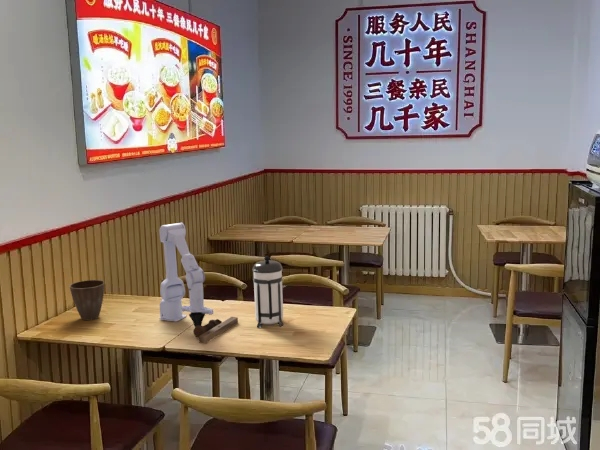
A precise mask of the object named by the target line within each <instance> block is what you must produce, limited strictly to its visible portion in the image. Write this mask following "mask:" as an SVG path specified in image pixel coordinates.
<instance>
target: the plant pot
mask: <svg viewBox="0 0 600 450" xmlns="http://www.w3.org/2000/svg"><path fill="white" fill-rule="evenodd" d="M69 290H70V293H71V297H72V300H73V302H74V305H75V308H76V311H77V312H78V315H79V316H80V319H81V320H83V321H91V320H92V321H93V320H97V319H98V318H99V317H100V314H101V312H102V311H101V310H102V306H103V301H104V292H105V281H104V280H99V279H89V280H81V281H76V282H73V283H71V284H70V285H69Z"/></svg>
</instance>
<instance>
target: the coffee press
mask: <svg viewBox="0 0 600 450" xmlns="http://www.w3.org/2000/svg"><path fill="white" fill-rule="evenodd" d="M270 258H271V257H270V256H269V255H266V256H265V255H264V260H261V261H260V260H259V261H258V262H256V263H254V265H253V267H252V272H253V277H252V279H253V280H252V281H253V288H254V289H253V291H254V313H255V316H254V317H255V320H256V322H257V325H256V328H258V329H261V328H262V327H263V325H272V324H276V325H278V326H279V327H280V328H281V327H283V326H285V324H284V322H283V319H284V301H283V300H284V299H283V273H282V272H283V266H282V264H281V263H280V262H279V261H276V260H270Z"/></svg>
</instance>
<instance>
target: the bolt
mask: <svg viewBox="0 0 600 450" xmlns="http://www.w3.org/2000/svg"><path fill="white" fill-rule="evenodd" d="M222 322H223V321H221V319H218V318H216V319H210V320H209V321H208V323H206V324H204V325H197V326H196V327H195V326H194V327H193V335H194V336H195V338H198V339H199V336H201V335H202V334H204V333H205V332H207V331H209V330H210V329H212V328H214V327H215V326H217V325H219V324H220V323H222Z"/></svg>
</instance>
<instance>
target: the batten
mask: <svg viewBox="0 0 600 450" xmlns="http://www.w3.org/2000/svg"><path fill="white" fill-rule="evenodd" d="M238 319H239V318H238V316H237V317H236V316H230V317H229V318H227V319H225V320H223V321H222V323H220V324H219V325H217V326H215V327H214V328H212V329H210V330H209V331H207V332H205V333H204V334H202V335H201V336H199V338H198V343H199V344H207V343H208V342H211V341H212V340H213V339H215V338H216V337H218V336H219V335H221V334H223V333H224V332H226V331H227V330H228V329H231V328H232V327H233V326H235V325H237V324H238V322H239V320H238Z"/></svg>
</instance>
